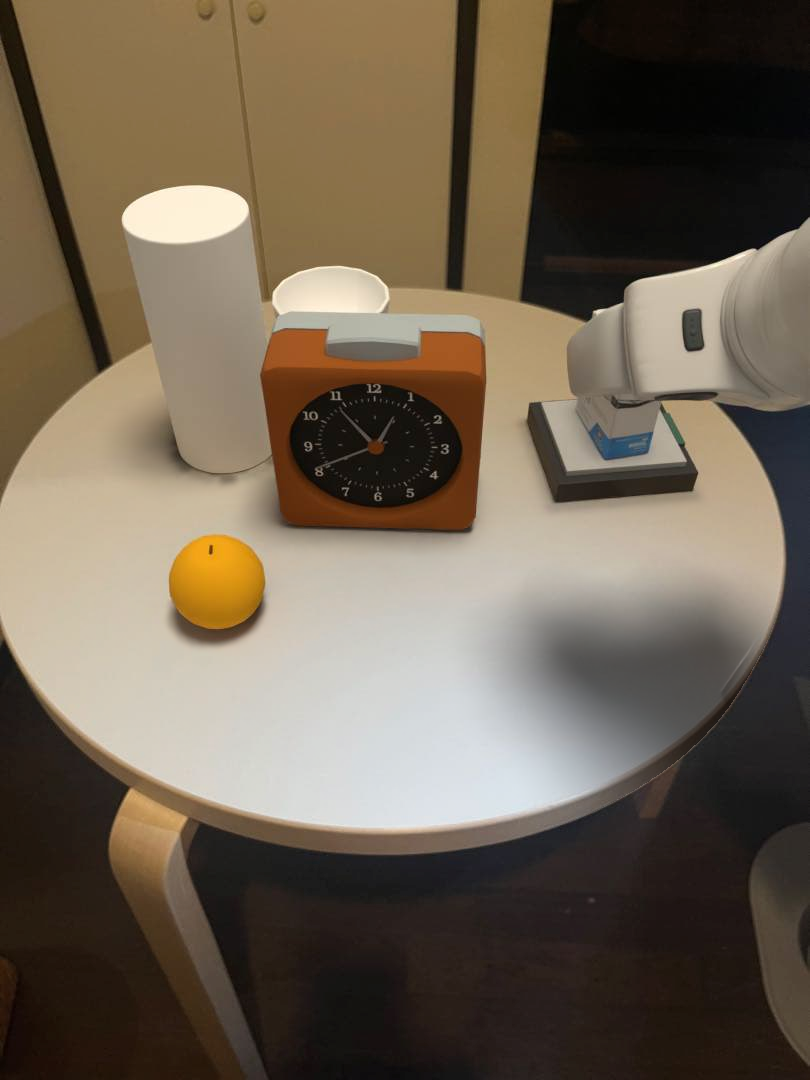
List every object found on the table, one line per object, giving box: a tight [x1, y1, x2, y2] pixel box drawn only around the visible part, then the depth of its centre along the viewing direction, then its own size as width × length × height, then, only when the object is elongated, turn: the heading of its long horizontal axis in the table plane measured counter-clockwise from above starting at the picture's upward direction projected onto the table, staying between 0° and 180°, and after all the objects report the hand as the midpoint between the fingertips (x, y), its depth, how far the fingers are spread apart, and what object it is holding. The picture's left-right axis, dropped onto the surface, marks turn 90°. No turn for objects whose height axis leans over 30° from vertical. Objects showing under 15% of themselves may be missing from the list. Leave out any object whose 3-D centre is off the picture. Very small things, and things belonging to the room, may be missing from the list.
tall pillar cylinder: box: [121, 184, 272, 474], centre depth 82 cm, size 11×11×25 cm
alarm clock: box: [260, 311, 487, 531], centre depth 77 cm, size 18×9×21 cm, turn 87°
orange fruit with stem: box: [168, 533, 266, 630], centre depth 73 cm, size 8×8×8 cm
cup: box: [271, 265, 391, 320], centre depth 94 cm, size 12×12×11 cm
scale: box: [526, 398, 699, 503], centre depth 88 cm, size 14×13×3 cm
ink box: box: [576, 308, 662, 459], centre depth 83 cm, size 8×5×12 cm, turn 12°
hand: (686, 372), depth 61 cm, fingers open, 8 cm apart
